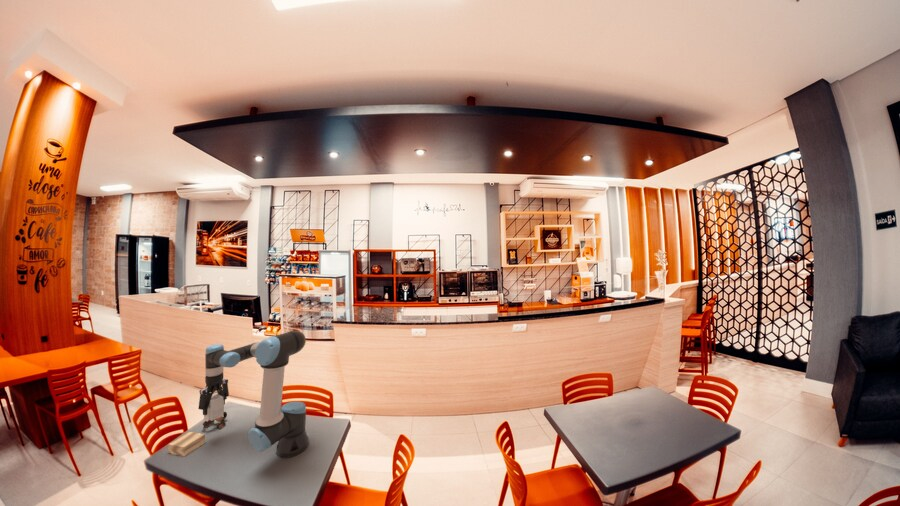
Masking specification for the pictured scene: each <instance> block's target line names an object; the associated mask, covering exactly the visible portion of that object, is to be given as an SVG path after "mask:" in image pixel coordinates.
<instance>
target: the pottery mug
mask: <svg viewBox="0 0 900 506" xmlns="http://www.w3.org/2000/svg"><path fill="white" fill-rule="evenodd" d="M227 416H228V413H227V412H226V411H224V415H223V416H221V417H219V418H217V419H214V420H212V421H211V420H209V421H207V420H204V422H203V423H202V426H203V429H208V428H209V426H212V425H213V426H214V425H215V421H216V422H218V423H220V425H218V428H219V430H221V429H223V428H224V427H225V426H226V421H225V420H226V418H227Z"/></svg>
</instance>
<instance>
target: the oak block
mask: <svg viewBox="0 0 900 506" xmlns="http://www.w3.org/2000/svg"><path fill="white" fill-rule="evenodd" d="M205 442H206V434H205V433H199V432H195V431H188V432H186V433H185V434H184V435H181V436H180V437H178V438H176V439H174V440H173V441H172V442H169V443H168V444H167V446H168V448H167V453H168V454H169V453H171V454H170V455H173V456H174V455H175V456H180V457H186V456H187V455H188V454H190V453H191V452H194V451H195V450H197V449H199V447H201V446H202V445H204V444H205Z"/></svg>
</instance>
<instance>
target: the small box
mask: <svg viewBox="0 0 900 506" xmlns="http://www.w3.org/2000/svg"><path fill="white" fill-rule="evenodd" d="M208 408H210V420H211V421H212V420H214V419H217V418H219V417H221V416H222V417H223V416H224V412H225V407H224V408H223V396H221V395H219V394H218V393H217V392H216V393H214V394H213V395H212V397H211V400H210V403H209V406H208Z"/></svg>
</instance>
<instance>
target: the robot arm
mask: <svg viewBox="0 0 900 506" xmlns="http://www.w3.org/2000/svg"><path fill="white" fill-rule="evenodd" d="M305 345H306V336H305V334H304V333H303V332H301V331H299V330H290V331H287V332H284V333H280V334H276V335H273V336H269V337H268V338H264V339H262V340H261V341H256V342H253V343H250V344H246V345H244V346H240V347H236V348H234V349H231V350H227V349H226V350H225V348H224V347H225V346H224V345H223V344H222V343H221V344H220V343H217V344H216V343H215V344H211V345H209V346H207V347H206V348H205V354H204V355H205V358H204V360H205V372H204V373H205V377H204V378H205V379H204V380H205V381H204V382H205V385H206V386H205V388H203V389H200V390H199V401H198V410H201V411H202V416H203V421H209V420H210V408H208V406H209V403H210V400H211V397H212V395H214V394H215V392H216V394H217V393H218V394H219V395H221V396H223V408H224V409H225V405H226V400H227V398H228V397H229V395H230V393H229V385H228V384H229V379H225V378H224V368H233V367H236V366H237V365H239V363H240V362H243V361H246V360H250V359H252V358H255V361H256V363H257V364H259V366H260V368H262V369H263V374H262V375H263V376H262V383H261V384H262V386H261V396H260V409H259V415H258V416H257V417H256V418H255V423H254V426H253V427H252V428H251V429H250V430H249V431H248V433H247V438H248V441H249V444H250V446H251V447H252V448H253V449H254V450H255V451H257V452H263V451H265V450H267V449H269V448H270V447H272V446H273V445H274V444H276V443H277V444H276V448H275V453H276V456H278V458H279V457H280V458H287V459H288V458H292V457H295V456H297V455H299V454H302V453H303V452H304V451H305V450H306V449H307V448H308V446H309V444H310V443H309V441H310V440H309V436H308V435H307V430H306V422H307V421H306V419H307V417H306V416H307V409H306V404H305V403H304V402H302V401H290V402H287V403H285V404H283V405H282V400H283V391H284V390H283V388H284V378H285V367H286V366H287V365H288V364H289V362H290V357H291V356H293V355H296V354H297V353H299V352H300V351H301V350H303V349H304V347H305Z"/></svg>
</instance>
